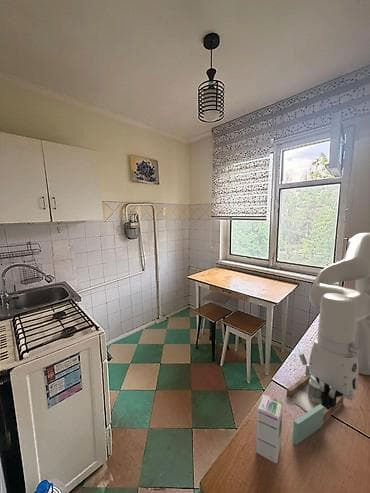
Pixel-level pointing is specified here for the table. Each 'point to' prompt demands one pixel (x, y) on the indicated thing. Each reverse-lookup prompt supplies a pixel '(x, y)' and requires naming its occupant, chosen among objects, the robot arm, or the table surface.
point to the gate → (308, 424)
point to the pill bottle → (314, 390)
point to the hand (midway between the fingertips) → (327, 405)
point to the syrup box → (269, 428)
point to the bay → (300, 397)
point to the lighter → (304, 363)
